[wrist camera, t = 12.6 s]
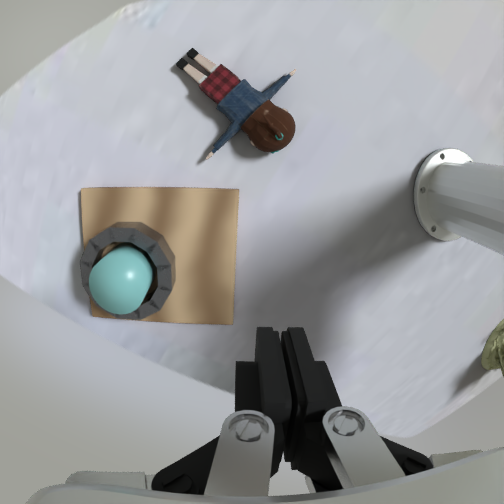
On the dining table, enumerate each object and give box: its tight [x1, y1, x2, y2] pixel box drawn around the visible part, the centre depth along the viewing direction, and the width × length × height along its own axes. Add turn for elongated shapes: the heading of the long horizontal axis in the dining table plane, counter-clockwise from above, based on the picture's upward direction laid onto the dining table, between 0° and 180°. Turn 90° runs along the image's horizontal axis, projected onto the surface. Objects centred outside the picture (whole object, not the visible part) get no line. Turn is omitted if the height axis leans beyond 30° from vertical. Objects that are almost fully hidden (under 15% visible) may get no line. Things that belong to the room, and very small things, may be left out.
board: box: [81, 187, 239, 325], centre depth 35 cm, size 18×16×1 cm
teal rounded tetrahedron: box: [89, 242, 156, 314], centre depth 32 cm, size 6×6×6 cm
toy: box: [176, 48, 296, 160], centre depth 30 cm, size 14×5×15 cm
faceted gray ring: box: [80, 222, 176, 320], centre depth 33 cm, size 10×10×3 cm
